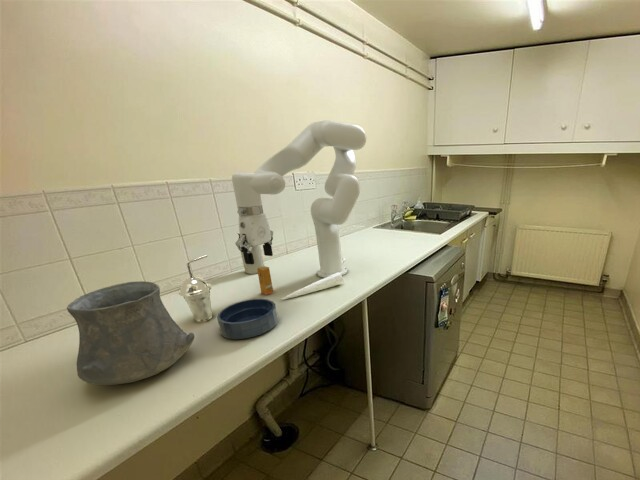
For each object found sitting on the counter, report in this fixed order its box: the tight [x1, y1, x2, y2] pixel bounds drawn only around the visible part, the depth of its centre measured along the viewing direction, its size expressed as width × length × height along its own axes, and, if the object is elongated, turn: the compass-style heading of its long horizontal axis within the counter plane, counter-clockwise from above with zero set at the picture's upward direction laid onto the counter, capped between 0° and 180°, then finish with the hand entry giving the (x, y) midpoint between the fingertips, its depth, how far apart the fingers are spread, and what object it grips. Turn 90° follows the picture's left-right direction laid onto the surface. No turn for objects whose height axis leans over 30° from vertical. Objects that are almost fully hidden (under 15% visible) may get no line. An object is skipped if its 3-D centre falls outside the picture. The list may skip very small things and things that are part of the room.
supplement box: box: [257, 265, 274, 296], centre depth 114 cm, size 3×3×10 cm
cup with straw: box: [178, 254, 213, 323], centre depth 95 cm, size 8×9×20 cm
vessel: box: [66, 280, 195, 386], centre depth 72 cm, size 22×22×20 cm
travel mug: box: [236, 230, 265, 275], centre depth 134 cm, size 8×8×18 cm
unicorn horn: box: [280, 272, 344, 301], centre depth 115 cm, size 5×24×5 cm, turn 126°
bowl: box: [216, 298, 279, 340], centre depth 92 cm, size 15×15×6 cm
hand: (259, 259), depth 110 cm, fingers open, 9 cm apart
